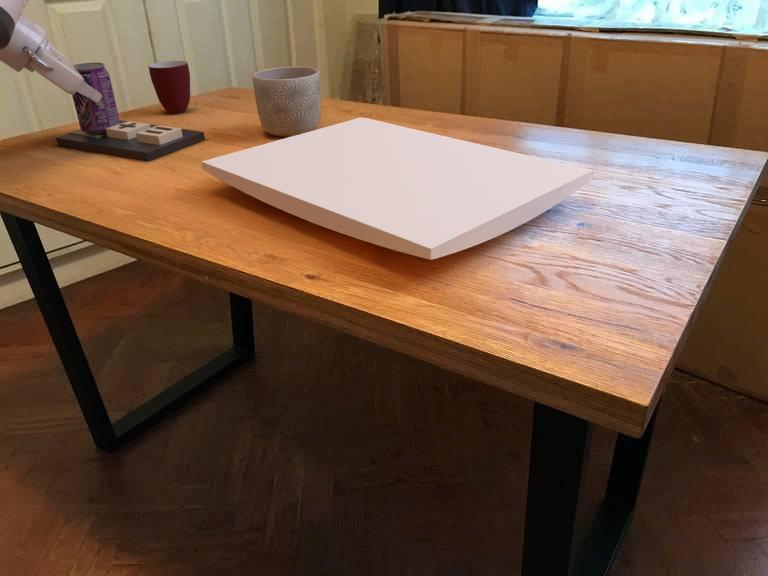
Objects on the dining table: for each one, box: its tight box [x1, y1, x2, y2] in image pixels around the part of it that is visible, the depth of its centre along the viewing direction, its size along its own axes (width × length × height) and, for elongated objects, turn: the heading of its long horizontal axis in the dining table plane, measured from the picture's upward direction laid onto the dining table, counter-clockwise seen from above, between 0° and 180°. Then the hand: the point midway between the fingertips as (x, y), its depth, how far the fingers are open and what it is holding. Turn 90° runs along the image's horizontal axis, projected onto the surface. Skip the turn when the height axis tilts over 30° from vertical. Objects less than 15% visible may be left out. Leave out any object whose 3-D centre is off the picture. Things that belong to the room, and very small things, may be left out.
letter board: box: [55, 119, 206, 162], centre depth 123 cm, size 24×14×3 cm, turn 61°
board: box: [200, 116, 594, 261], centre depth 93 cm, size 45×32×5 cm
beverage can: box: [71, 62, 121, 135], centre depth 122 cm, size 7×7×12 cm
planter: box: [251, 65, 322, 138], centre depth 124 cm, size 12×12×11 cm
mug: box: [148, 60, 191, 115], centre depth 142 cm, size 11×8×10 cm
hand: (96, 94), depth 122 cm, fingers closed on beverage can, 7 cm apart
